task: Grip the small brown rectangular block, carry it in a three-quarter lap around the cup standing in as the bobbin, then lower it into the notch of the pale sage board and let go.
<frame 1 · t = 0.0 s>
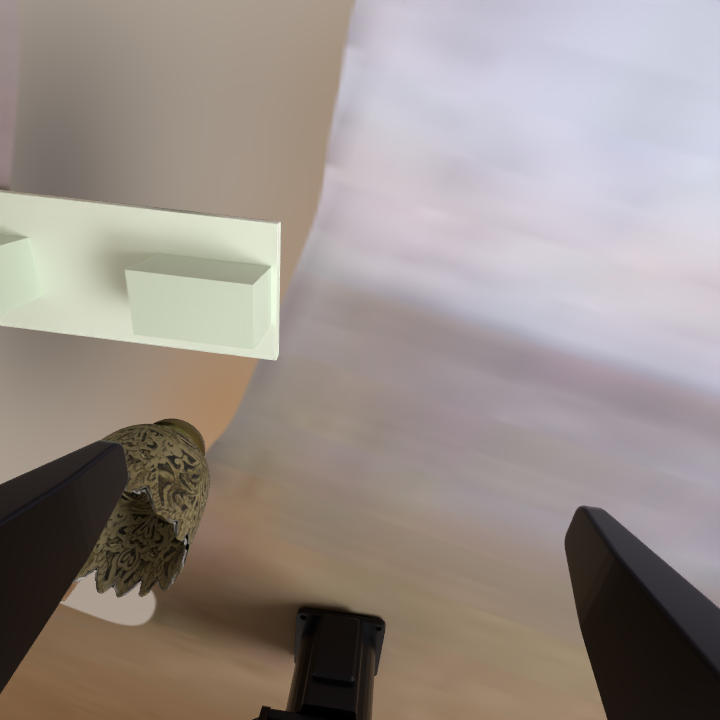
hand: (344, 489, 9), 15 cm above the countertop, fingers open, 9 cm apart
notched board: (105, 272, 23), on the countertop
cup: (181, 436, 28), on the countertop
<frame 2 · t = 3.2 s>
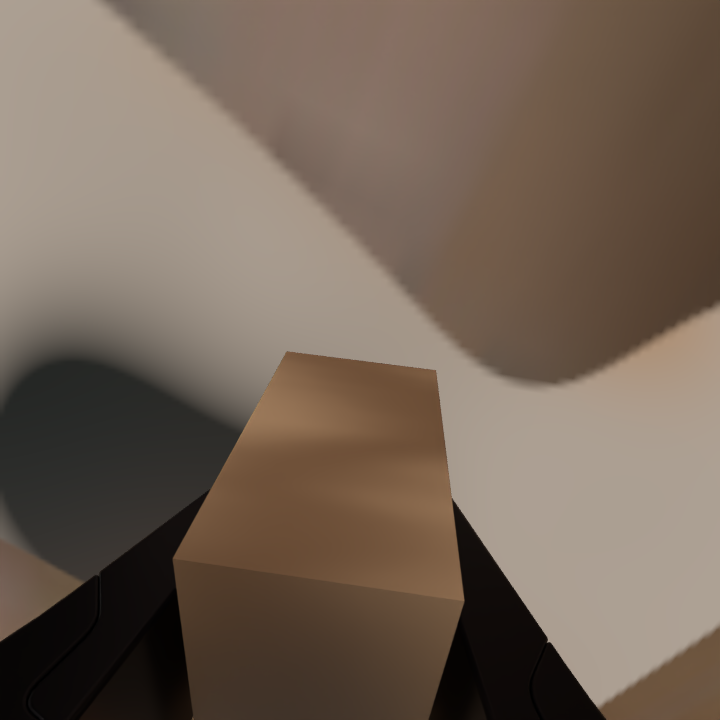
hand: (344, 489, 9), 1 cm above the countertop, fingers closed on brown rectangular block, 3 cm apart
brown rectangular block: (351, 450, 10), on the countertop, touching gripper
when the fingers open (3 cm above the countertop, at t = 7.9 s): brown rectangular block drops 1 cm, resting on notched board.
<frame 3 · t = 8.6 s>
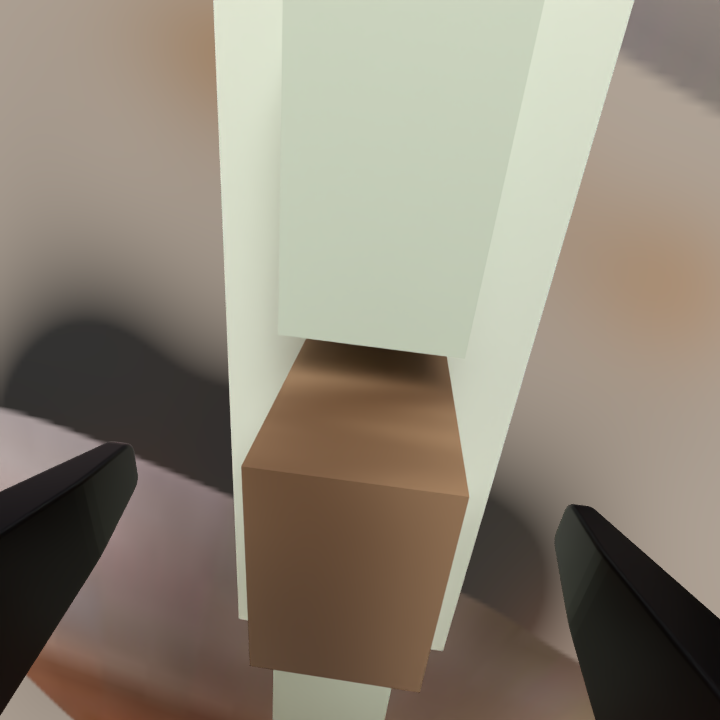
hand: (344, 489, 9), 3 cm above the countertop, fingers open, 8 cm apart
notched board: (368, 401, 12), on the countertop
brown rectangular block: (369, 414, 11), point 1 cm above the countertop, touching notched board
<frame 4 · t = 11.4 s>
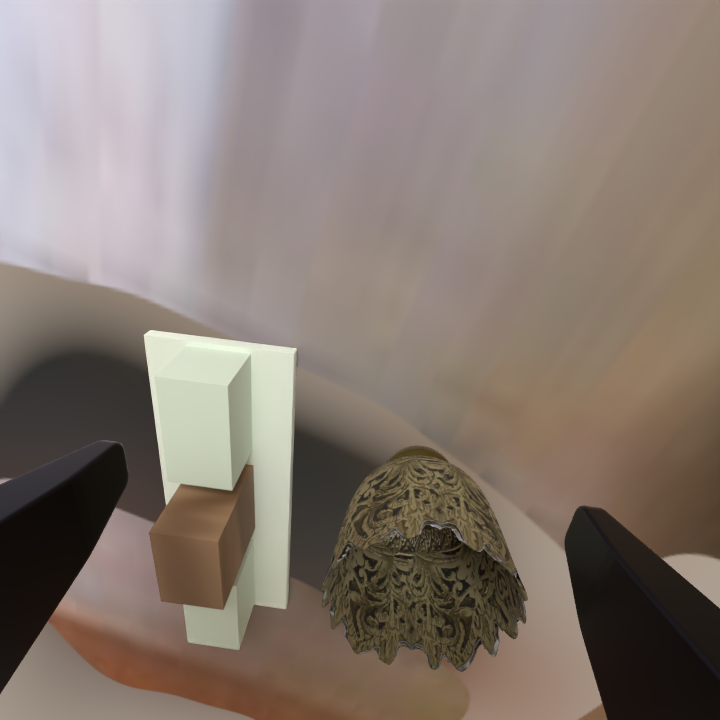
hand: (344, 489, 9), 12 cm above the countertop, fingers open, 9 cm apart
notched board: (229, 486, 25), on the countertop
brown rectangular block: (227, 494, 25), point 1 cm above the countertop, touching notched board
cup: (417, 465, 24), on the countertop
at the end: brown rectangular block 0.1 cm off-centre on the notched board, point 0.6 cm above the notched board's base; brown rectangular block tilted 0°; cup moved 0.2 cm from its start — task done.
